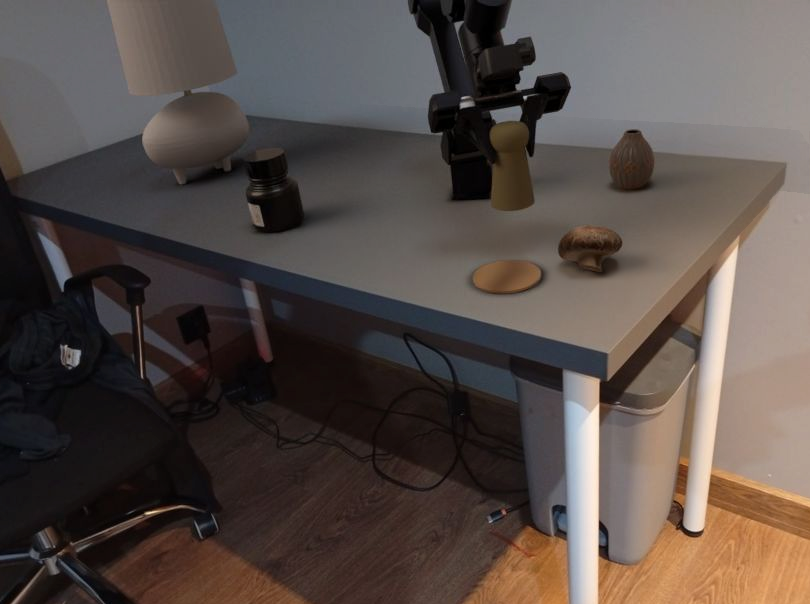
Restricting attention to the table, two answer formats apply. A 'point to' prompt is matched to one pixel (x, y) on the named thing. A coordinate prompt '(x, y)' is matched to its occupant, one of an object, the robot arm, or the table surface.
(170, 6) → the table lamp
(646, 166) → the vase
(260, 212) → the ink bottle
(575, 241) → the mushroom
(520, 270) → the coaster
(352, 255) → the table surface
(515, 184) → the pepper shaker
